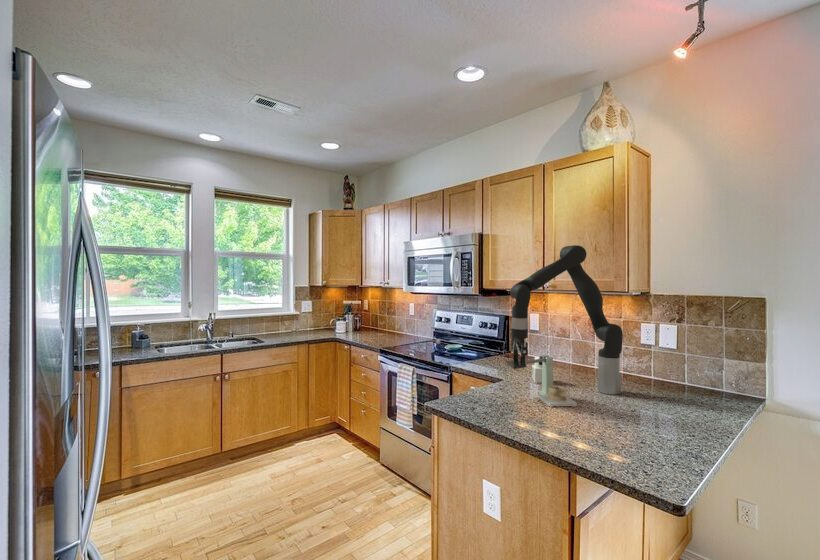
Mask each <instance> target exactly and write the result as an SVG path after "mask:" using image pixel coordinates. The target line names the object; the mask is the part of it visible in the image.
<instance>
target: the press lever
mask: <svg viewBox="0 0 820 560" xmlns="http://www.w3.org/2000/svg"><path fill="white" fill-rule="evenodd" d="M544 356H545V357H544V358H542V359H535V358H534V359H531V360H525V365H521V364H520V359H518V360H513V359H512V360H511V359H510V360H507V361H505V364H506V365H507V366H509V367H510V368H512V370H516V369H517V370H518V369H523V368H527V365H531V364H535V363H537V362H544V361H547V358H551V357H550V356H549V355H544ZM548 356H549V357H548Z"/></svg>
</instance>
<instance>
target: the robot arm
mask: <svg viewBox="0 0 820 560" xmlns="http://www.w3.org/2000/svg"><path fill="white" fill-rule="evenodd" d="M586 257H587V250H586V249H585V248H584V247H583V246H582V245H579V244H578V245H577V244H573V245H567V246H564V247H562V248H561V249H560V251H559V258H558V259H557V260H556V261H554V262H552V263H550V264H548V265H546V266H543V267H542V268H540V269H538V270H536V271H535V272H534V273H532V274H531V275H530V276H528V277H526V278H525V279H524V278H523V279H522V280H520V281H518V282H517V283H515V284H514V285H513V286H512V287H511V288H510V291H509V293H510V297H512V299H515V303H514V305H513V306H512V307H511V321H510V337H511V340H510V341H511V343H510V349H511V351H512V360H520V364H521V365H525V361H526V356H528V355H529V352H528V351H529V350H528V348H529V346H528V345H529V344H528V342H527V341H525V339H528V337H529V321H528V320H529V319H528V315H529V311H528V309H529V305H530V301H531V295H532V294H531V292H532V291H537V290H539V289H540V288H542V287H543V286H544V285H546V284H547V283H549V282H550V281H551V280H553V279H555V278H556V277H557V276H559V275H561V274H563V273H564V272H567V274H568V275H569V277H570V278H571V280H572V283H573V285H574V287H575V289H576V291H577V294H578V296H579V298H580V300H581V302H582V304H583V306H584V308H585V311H586V313H587V315H588V317H589V319H590V322H591V324H592V328H593V331H594V333H595V336H596V338H597V339H599V340H600V341H601V342H602V341H603V342H604V343H603V347H602V348H600V349H598V355H597V356H598V357H597V358H598V360H597V361H598V363H597V364H598V365H597V369H598V371H597V391H598V392H600V393H601V394H605V395H618V394H622V373H621V372H620V369H621V367H620V366H621V365H620V363H621V362H620V361H621V353H622V350H623V341H624V339H623V338H624V333H623V329H622V328H621V326H620V325H618V324H615V323H611V322H609V321H608V320H607V318H606V316H605V314H604V309H603V305H604V298H603V295H602V292H601V290H600V288H599V286H598V285H597V283H596V282H595V281H594V279H593V278H592V277H591V276H589V274H588V273H587V272H586V271H585V269H584V268H583V265H582V263H584V261H586V259H587V258H586Z"/></svg>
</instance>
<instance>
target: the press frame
mask: <svg viewBox="0 0 820 560" xmlns="http://www.w3.org/2000/svg"><path fill="white" fill-rule="evenodd" d="M542 356H543V358H544V357H545V356H546V355H542ZM547 356H548V357H550V355H547ZM541 387H542V388H541V389H540V390H539V394H538V395H537V399H539V398H540V399H541V400H542V402H543V401H544V402H545V403H547V404H548V405H549V406H572V407H578V403H577V402H576V401H575V400H573V399H572V398H570V397H569V396H567V395H566V401H553V400H551V399H550V398H549V397H548V387H554V357H550V358H547V361H544V362H542V383H541ZM540 399H539V400H540ZM541 400H540V401H541ZM544 402H543V403H544ZM545 403H544V404H545ZM547 404H546V405H547ZM548 405H547V406H548ZM549 406H548V407H549Z"/></svg>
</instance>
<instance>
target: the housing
mask: <svg viewBox="0 0 820 560" xmlns="http://www.w3.org/2000/svg"><path fill="white" fill-rule="evenodd" d="M566 396H567V389H565V388H564V387H562V386H553V387H548V397H549V398H550V399H551V400H553V401H566Z"/></svg>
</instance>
